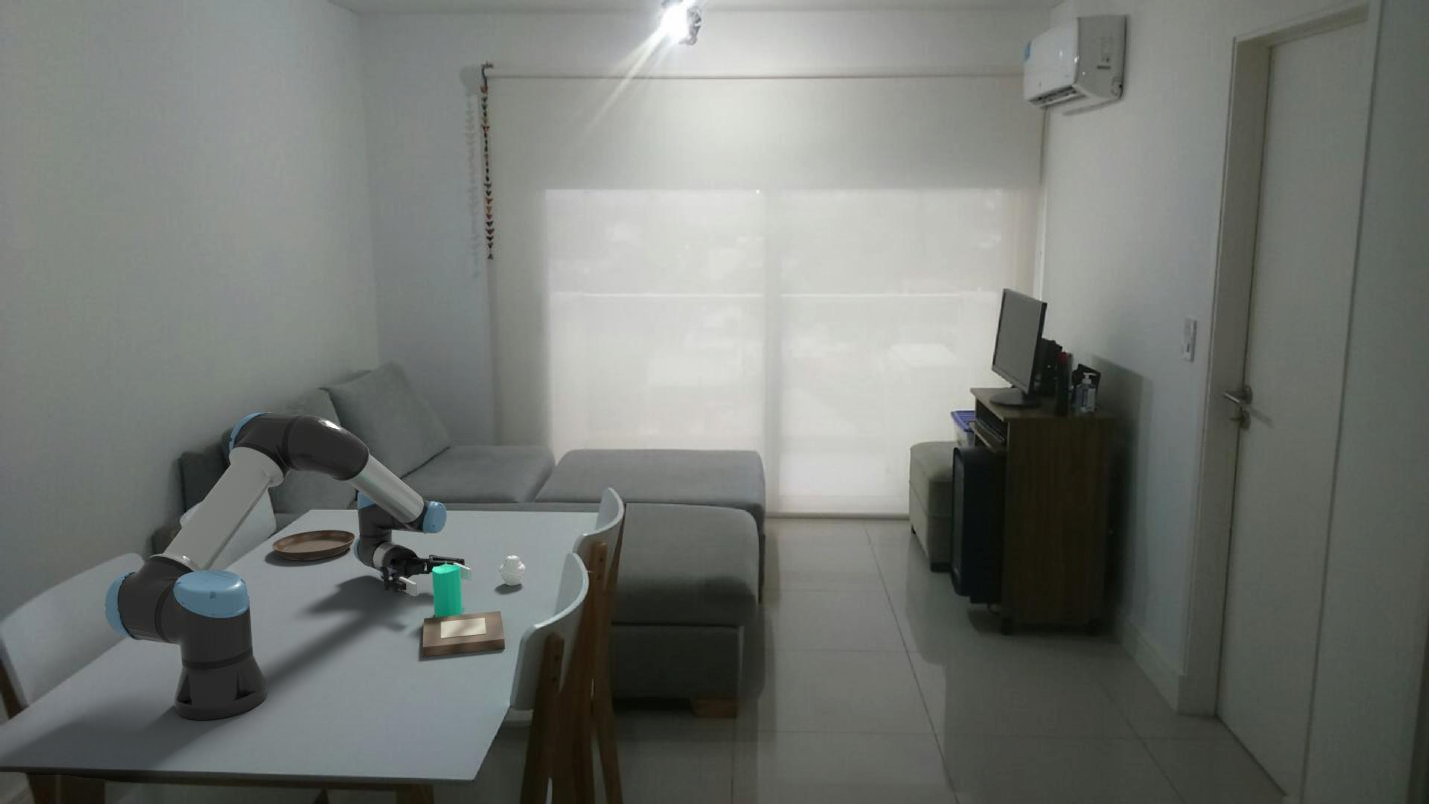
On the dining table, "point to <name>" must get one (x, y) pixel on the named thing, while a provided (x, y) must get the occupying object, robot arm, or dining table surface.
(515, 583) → the white rounded piece
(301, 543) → the plant saucer
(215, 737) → the dining table surface
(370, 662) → the dining table surface
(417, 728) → the dining table surface
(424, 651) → the plinth
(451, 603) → the candle
